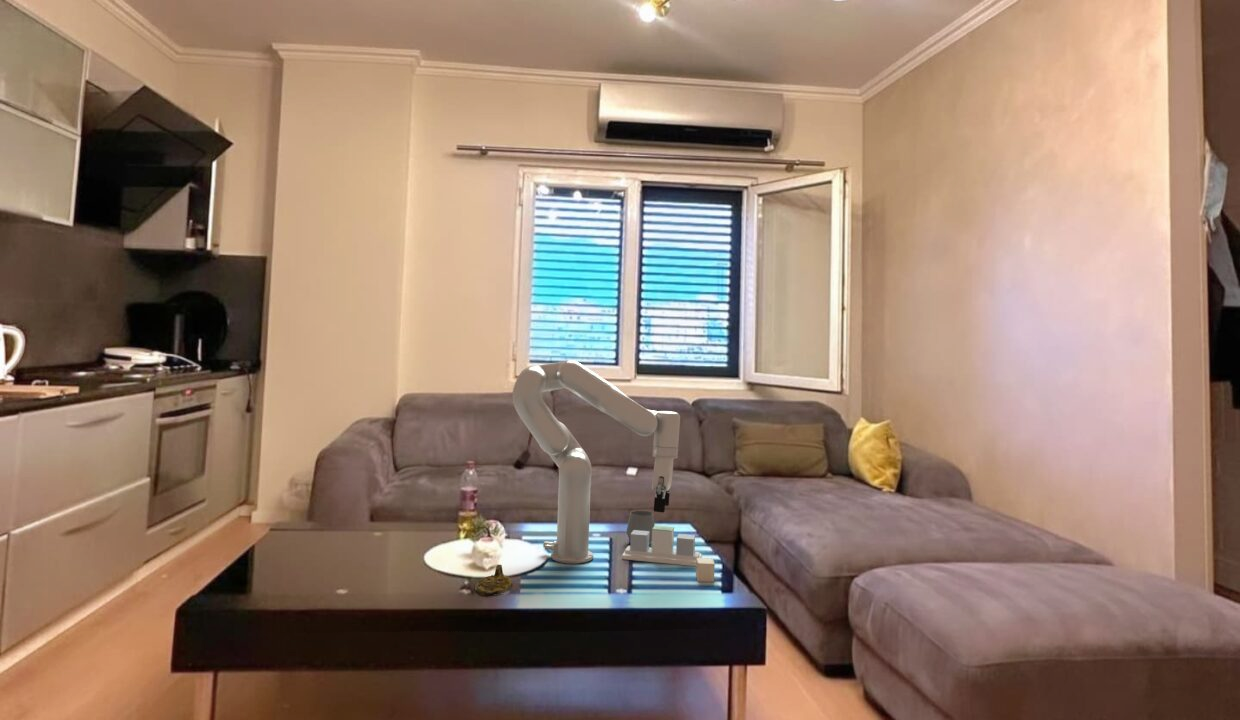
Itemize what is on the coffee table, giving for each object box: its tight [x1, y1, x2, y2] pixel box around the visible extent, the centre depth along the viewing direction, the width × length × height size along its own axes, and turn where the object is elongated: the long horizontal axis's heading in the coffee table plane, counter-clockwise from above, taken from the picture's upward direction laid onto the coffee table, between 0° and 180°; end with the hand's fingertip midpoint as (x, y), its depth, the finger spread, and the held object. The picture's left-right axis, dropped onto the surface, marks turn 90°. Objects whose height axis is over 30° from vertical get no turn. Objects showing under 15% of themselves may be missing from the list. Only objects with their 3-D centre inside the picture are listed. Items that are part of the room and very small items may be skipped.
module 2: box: [695, 557, 716, 583], centre depth 187 cm, size 4×5×5 cm
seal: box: [474, 564, 514, 597], centre depth 175 cm, size 9×5×15 cm
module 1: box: [651, 525, 675, 554], centre depth 205 cm, size 6×4×7 cm
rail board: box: [621, 530, 703, 567], centre depth 205 cm, size 23×9×7 cm, turn 79°
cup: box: [626, 510, 656, 545], centre depth 220 cm, size 10×9×10 cm
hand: (661, 508), depth 205 cm, fingers open, 9 cm apart
